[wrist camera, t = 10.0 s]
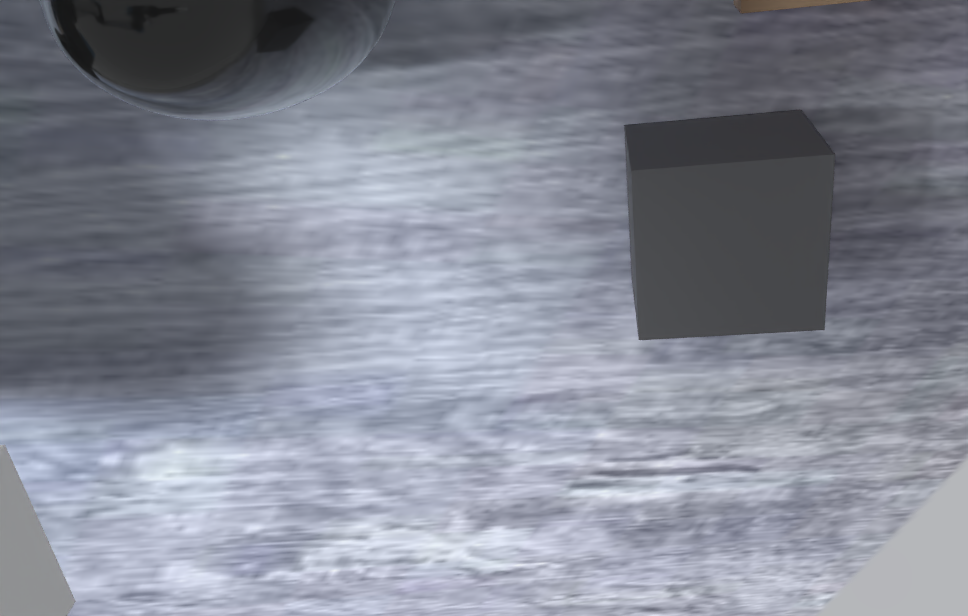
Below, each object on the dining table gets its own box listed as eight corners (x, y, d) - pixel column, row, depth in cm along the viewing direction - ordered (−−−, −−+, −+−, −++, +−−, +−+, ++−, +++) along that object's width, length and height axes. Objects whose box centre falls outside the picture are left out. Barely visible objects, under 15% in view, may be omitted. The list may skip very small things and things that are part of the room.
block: (631, 278, 41) (638, 340, 36) (624, 125, 38) (631, 170, 33) (794, 267, 40) (824, 329, 35) (801, 110, 37) (835, 154, 32)
